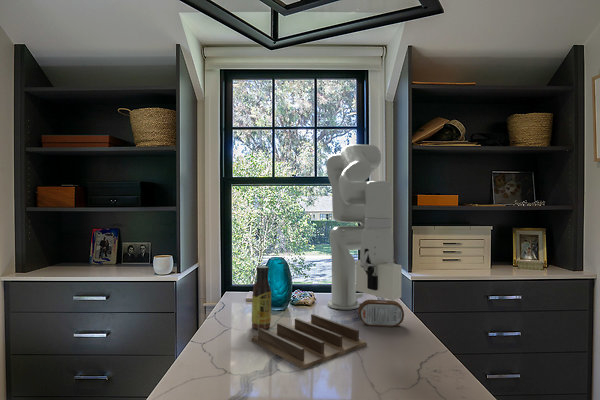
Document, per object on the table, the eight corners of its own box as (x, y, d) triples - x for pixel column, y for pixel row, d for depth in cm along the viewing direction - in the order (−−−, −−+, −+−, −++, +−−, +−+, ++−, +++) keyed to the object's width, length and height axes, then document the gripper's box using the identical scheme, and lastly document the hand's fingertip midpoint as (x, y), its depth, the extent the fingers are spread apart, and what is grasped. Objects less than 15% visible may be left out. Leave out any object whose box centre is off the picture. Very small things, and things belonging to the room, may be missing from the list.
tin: (403, 324, 126) (403, 300, 126) (404, 328, 123) (405, 302, 123) (358, 323, 128) (358, 298, 127) (358, 326, 124) (358, 301, 124)
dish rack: (311, 323, 127) (311, 311, 127) (366, 345, 108) (366, 331, 108) (251, 340, 111) (251, 327, 111) (303, 369, 93) (303, 353, 93)
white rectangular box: (364, 288, 113) (364, 259, 113) (401, 297, 103) (401, 265, 103) (355, 290, 110) (356, 260, 110) (392, 300, 100) (392, 266, 100)
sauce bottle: (261, 331, 119) (261, 269, 119) (247, 327, 122) (247, 267, 122) (275, 326, 124) (275, 266, 124) (261, 322, 128) (261, 264, 128)
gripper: (385, 222, 115) (384, 281, 115) (348, 224, 104) (348, 290, 104) (406, 223, 109) (405, 286, 109) (369, 226, 98) (369, 295, 98)
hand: (377, 287), depth 107 cm, fingers closed on white rectangular box, 4 cm apart
